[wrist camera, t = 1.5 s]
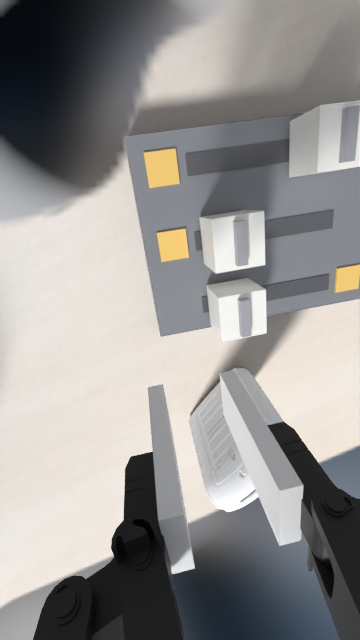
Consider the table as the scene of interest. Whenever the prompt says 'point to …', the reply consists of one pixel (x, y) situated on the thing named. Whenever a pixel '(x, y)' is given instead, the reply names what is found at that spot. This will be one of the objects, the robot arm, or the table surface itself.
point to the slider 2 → (325, 139)
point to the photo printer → (226, 446)
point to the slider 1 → (237, 309)
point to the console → (236, 195)
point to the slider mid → (233, 240)
